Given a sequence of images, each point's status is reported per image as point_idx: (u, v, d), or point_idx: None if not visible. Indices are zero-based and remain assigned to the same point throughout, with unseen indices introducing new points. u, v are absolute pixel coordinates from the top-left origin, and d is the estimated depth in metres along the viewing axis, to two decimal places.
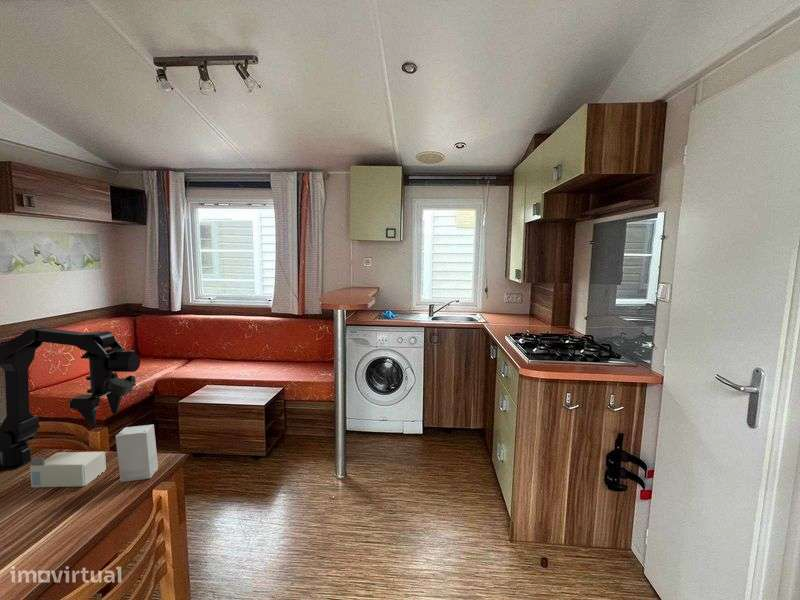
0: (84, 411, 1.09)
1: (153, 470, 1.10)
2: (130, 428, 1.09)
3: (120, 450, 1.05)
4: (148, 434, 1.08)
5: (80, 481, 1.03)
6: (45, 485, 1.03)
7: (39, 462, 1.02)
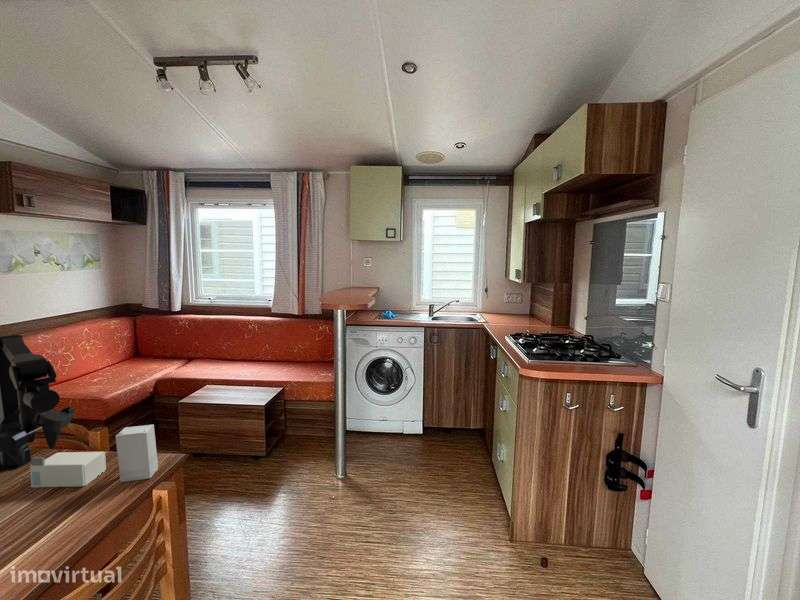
0: (10, 450, 0.96)
1: (153, 470, 1.10)
2: (130, 428, 1.09)
3: (120, 450, 1.05)
4: (148, 434, 1.08)
5: (80, 481, 1.03)
6: (45, 485, 1.03)
7: (39, 462, 1.02)
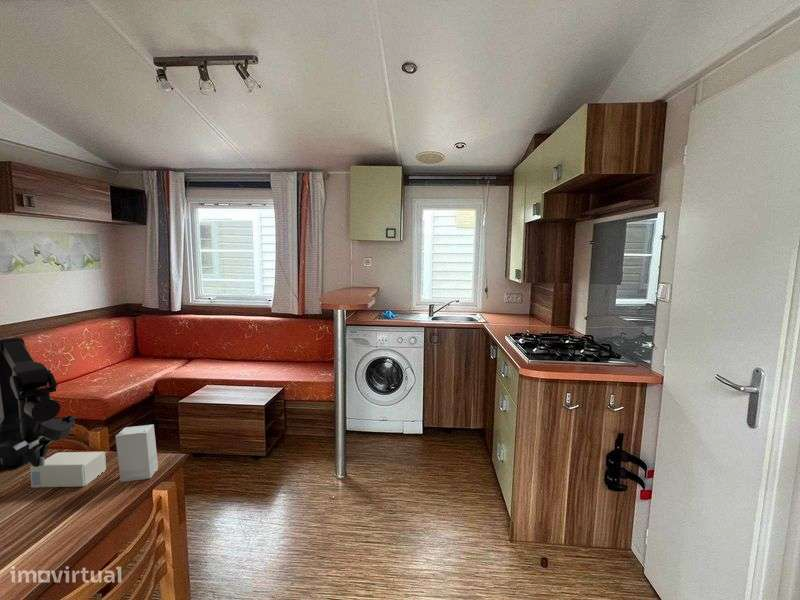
0: (26, 452, 1.00)
1: (153, 470, 1.10)
2: (130, 428, 1.09)
3: (120, 450, 1.05)
4: (148, 434, 1.08)
5: (80, 481, 1.03)
6: (45, 485, 1.03)
7: None
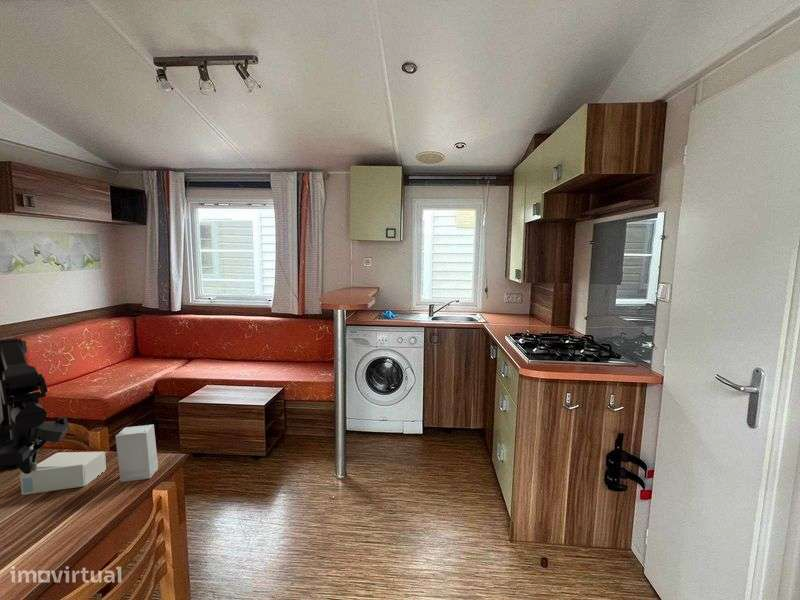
0: None
1: (153, 470, 1.10)
2: (130, 428, 1.09)
3: (120, 450, 1.05)
4: (148, 434, 1.08)
5: (80, 481, 1.03)
6: (39, 490, 1.00)
7: (32, 467, 0.99)
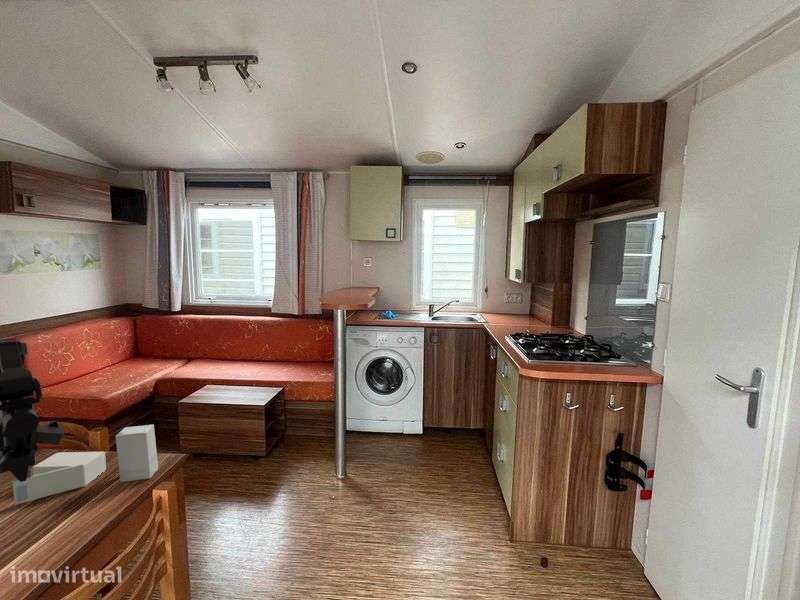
0: None
1: (153, 470, 1.10)
2: (130, 428, 1.09)
3: (120, 450, 1.05)
4: (148, 434, 1.08)
5: (81, 481, 1.03)
6: (35, 497, 0.98)
7: None
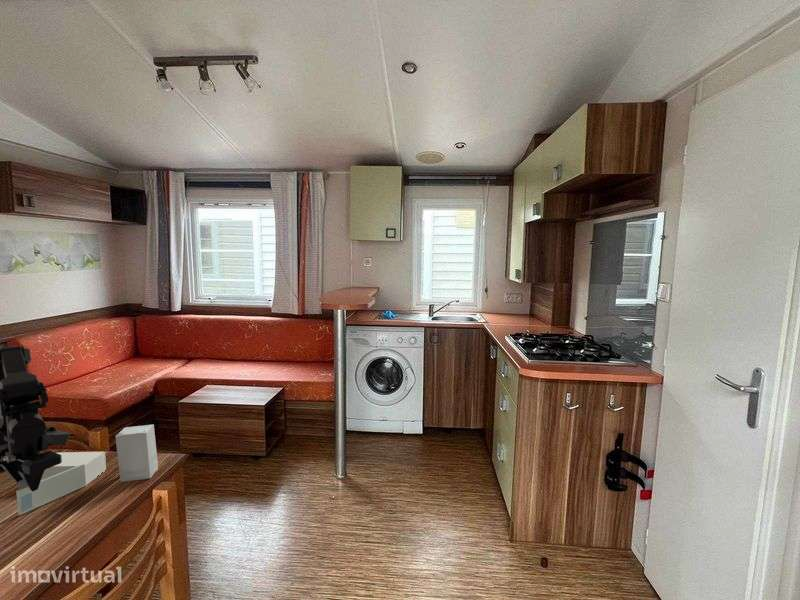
0: (30, 475, 0.89)
1: (153, 470, 1.10)
2: (130, 428, 1.09)
3: (120, 450, 1.05)
4: (148, 434, 1.08)
5: (82, 481, 1.03)
6: (39, 504, 0.95)
7: None
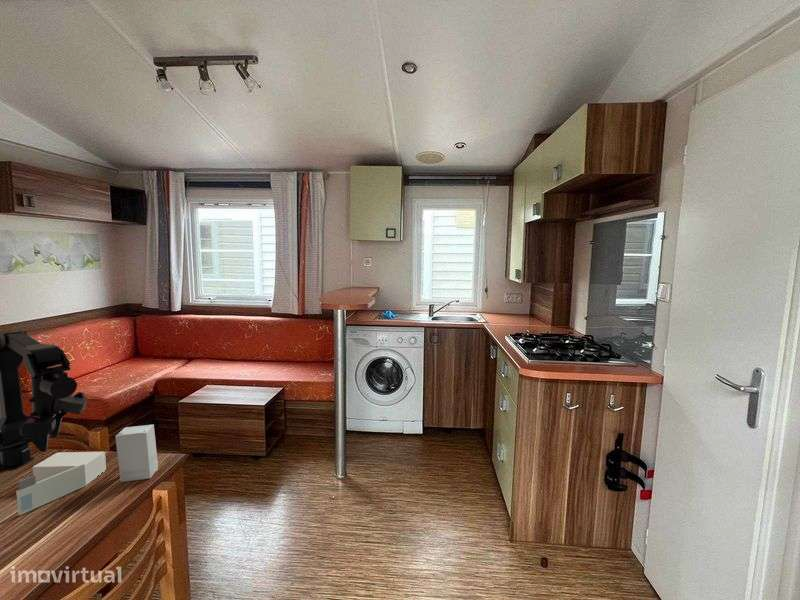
0: (35, 436, 0.97)
1: (153, 470, 1.10)
2: (130, 428, 1.09)
3: (120, 450, 1.05)
4: (148, 434, 1.08)
5: (82, 481, 1.03)
6: (39, 504, 0.95)
7: (31, 481, 0.93)
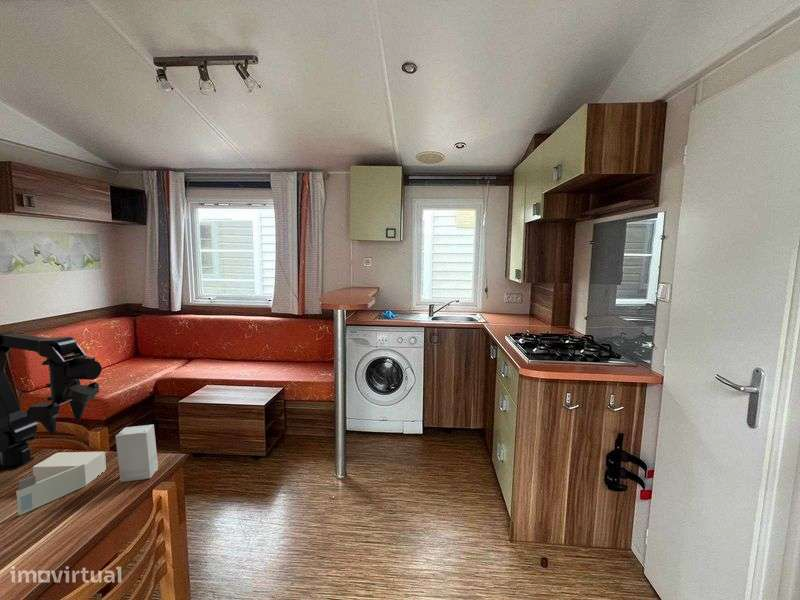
0: (43, 419, 1.06)
1: (153, 470, 1.10)
2: (130, 428, 1.09)
3: (120, 450, 1.05)
4: (148, 434, 1.08)
5: (82, 481, 1.03)
6: (39, 504, 0.95)
7: (31, 481, 0.93)
